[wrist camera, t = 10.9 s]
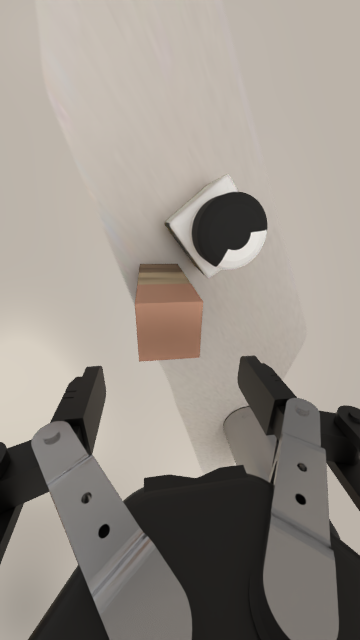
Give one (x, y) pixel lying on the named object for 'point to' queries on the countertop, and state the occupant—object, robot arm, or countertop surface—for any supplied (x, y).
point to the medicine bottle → (219, 227)
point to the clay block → (168, 321)
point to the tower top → (162, 278)
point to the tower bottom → (159, 268)
